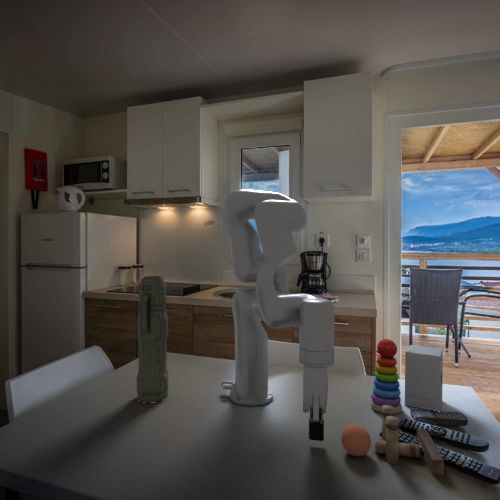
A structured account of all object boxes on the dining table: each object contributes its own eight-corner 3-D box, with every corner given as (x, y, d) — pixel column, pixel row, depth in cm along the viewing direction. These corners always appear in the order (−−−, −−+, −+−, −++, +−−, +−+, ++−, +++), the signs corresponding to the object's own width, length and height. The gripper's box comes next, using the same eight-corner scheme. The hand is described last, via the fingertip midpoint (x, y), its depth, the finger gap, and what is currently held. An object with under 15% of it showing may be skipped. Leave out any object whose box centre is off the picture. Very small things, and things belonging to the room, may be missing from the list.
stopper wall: (432, 474, 69) (432, 459, 69) (416, 441, 81) (416, 428, 81) (443, 476, 69) (443, 460, 69) (426, 442, 81) (426, 429, 81)
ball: (374, 448, 72) (364, 467, 74) (375, 425, 77) (366, 444, 79) (344, 435, 73) (335, 454, 75) (347, 413, 78) (339, 432, 81)
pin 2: (386, 462, 73) (387, 420, 73) (384, 456, 75) (384, 415, 75) (399, 464, 73) (400, 422, 72) (397, 457, 75) (397, 416, 75)
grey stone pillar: (130, 406, 99) (129, 278, 99) (143, 389, 111) (143, 275, 110) (162, 406, 99) (162, 278, 98) (172, 389, 110) (172, 275, 110)
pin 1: (382, 448, 78) (382, 409, 78) (381, 442, 81) (381, 404, 81) (394, 450, 78) (395, 410, 78) (392, 443, 80) (393, 405, 80)
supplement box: (440, 413, 95) (441, 356, 95) (404, 405, 100) (404, 351, 100) (443, 401, 103) (443, 348, 102) (409, 394, 107) (409, 343, 107)
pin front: (376, 443, 76) (419, 448, 74) (374, 437, 78) (417, 441, 76) (376, 455, 76) (419, 460, 74) (374, 448, 78) (417, 453, 76)
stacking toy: (405, 417, 93) (405, 344, 93) (372, 414, 94) (372, 342, 94) (398, 404, 101) (399, 336, 100) (368, 401, 102) (369, 335, 102)
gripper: (301, 345, 87) (301, 421, 88) (296, 365, 73) (296, 455, 73) (333, 347, 86) (333, 424, 86) (335, 367, 71) (334, 460, 71)
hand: (316, 438), depth 80 cm, fingers closed
